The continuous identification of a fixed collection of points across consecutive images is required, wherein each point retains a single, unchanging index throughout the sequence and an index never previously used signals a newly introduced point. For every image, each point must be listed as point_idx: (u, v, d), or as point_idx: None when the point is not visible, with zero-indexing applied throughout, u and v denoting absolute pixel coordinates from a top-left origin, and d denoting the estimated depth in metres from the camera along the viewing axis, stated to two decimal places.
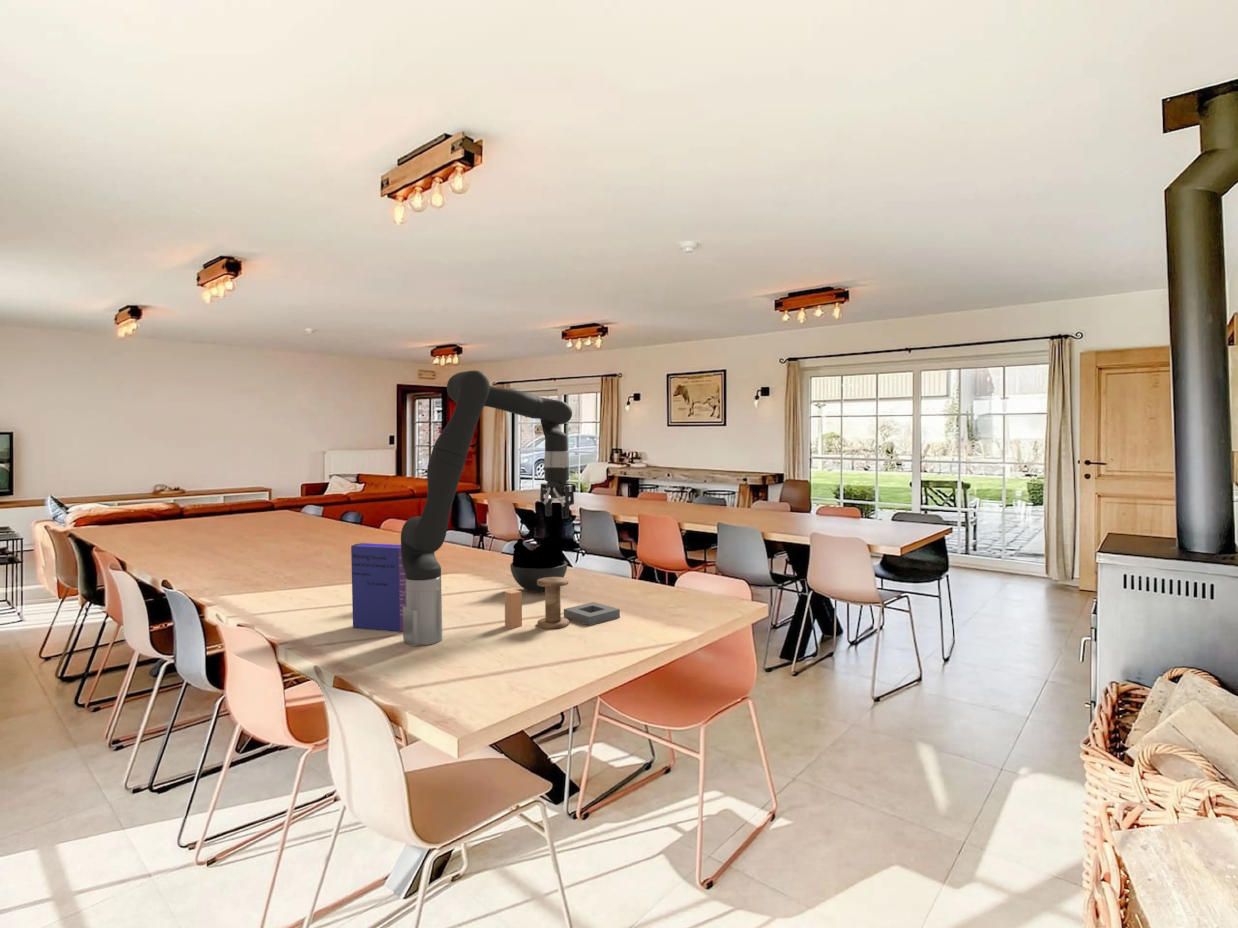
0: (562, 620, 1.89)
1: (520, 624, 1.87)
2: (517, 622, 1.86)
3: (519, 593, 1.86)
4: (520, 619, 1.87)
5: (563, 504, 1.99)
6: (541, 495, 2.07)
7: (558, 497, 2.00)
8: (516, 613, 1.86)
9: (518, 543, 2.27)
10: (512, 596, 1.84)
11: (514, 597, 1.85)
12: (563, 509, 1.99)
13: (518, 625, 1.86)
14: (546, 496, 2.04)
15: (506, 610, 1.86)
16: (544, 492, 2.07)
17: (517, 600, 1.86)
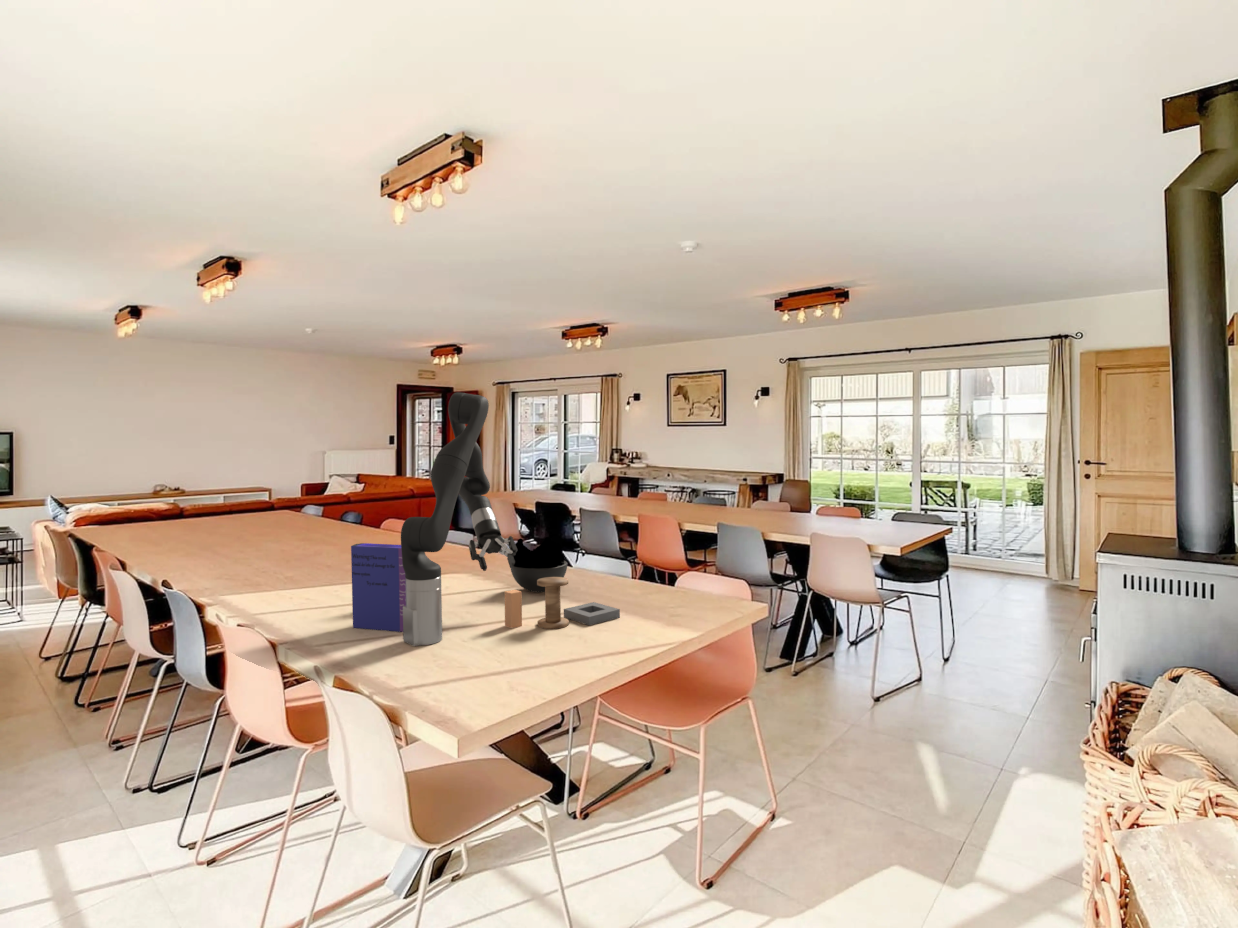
0: (562, 620, 1.89)
1: (520, 624, 1.87)
2: (517, 622, 1.86)
3: (519, 593, 1.86)
4: (520, 619, 1.87)
5: (511, 551, 2.01)
6: (474, 549, 1.96)
7: (504, 545, 2.00)
8: (516, 613, 1.86)
9: (518, 543, 2.27)
10: (512, 596, 1.84)
11: (514, 597, 1.85)
12: (511, 556, 2.00)
13: (518, 625, 1.86)
14: (485, 548, 1.97)
15: (506, 610, 1.86)
16: None
17: (517, 600, 1.86)
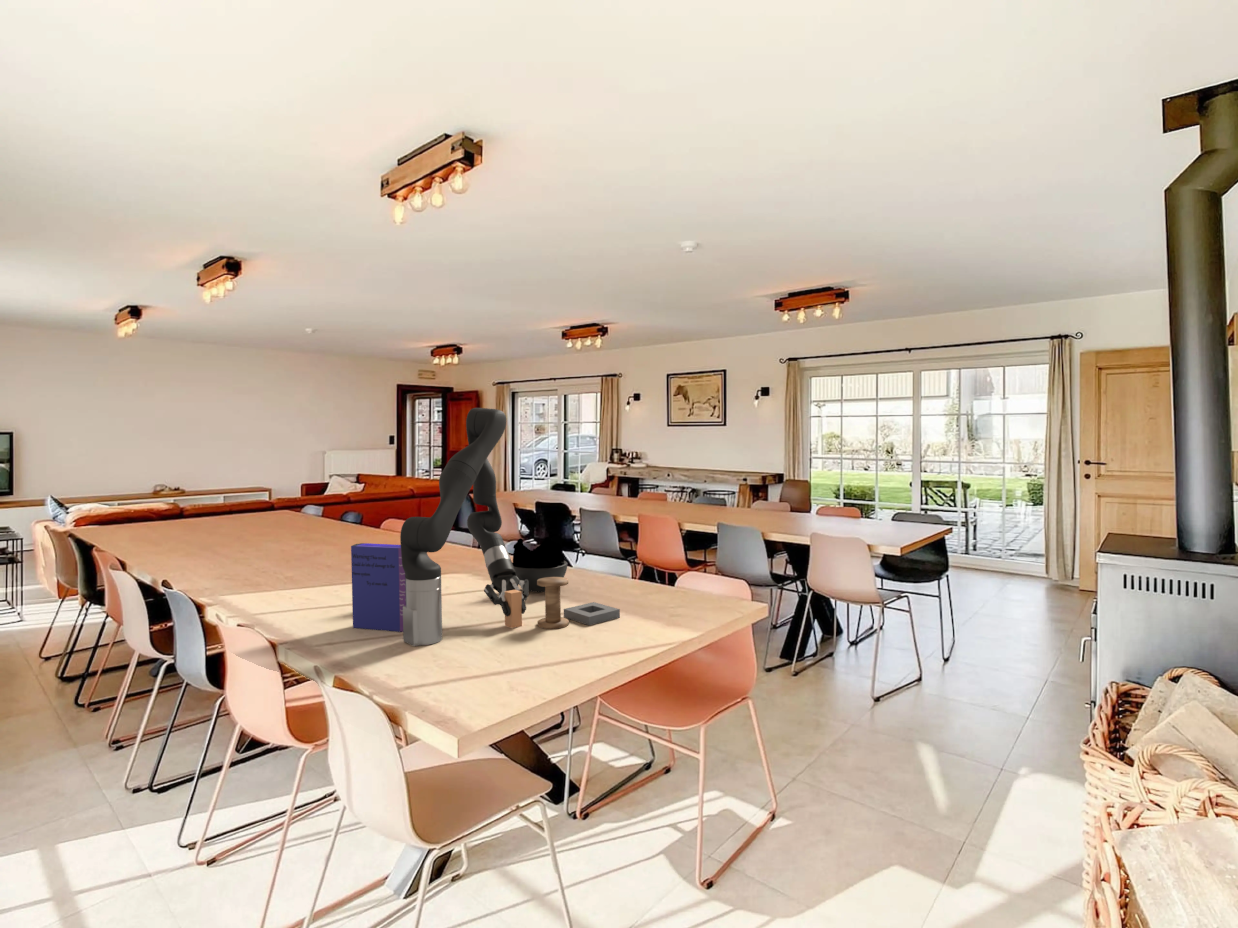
0: (562, 620, 1.89)
1: (520, 624, 1.87)
2: (517, 622, 1.86)
3: (519, 593, 1.86)
4: (520, 619, 1.87)
5: (522, 596, 1.89)
6: (494, 594, 1.85)
7: (517, 588, 1.89)
8: (516, 613, 1.86)
9: (518, 543, 2.27)
10: (512, 596, 1.84)
11: (514, 597, 1.85)
12: (522, 601, 1.88)
13: (518, 625, 1.86)
14: (504, 590, 1.87)
15: None
16: None
17: (517, 600, 1.86)
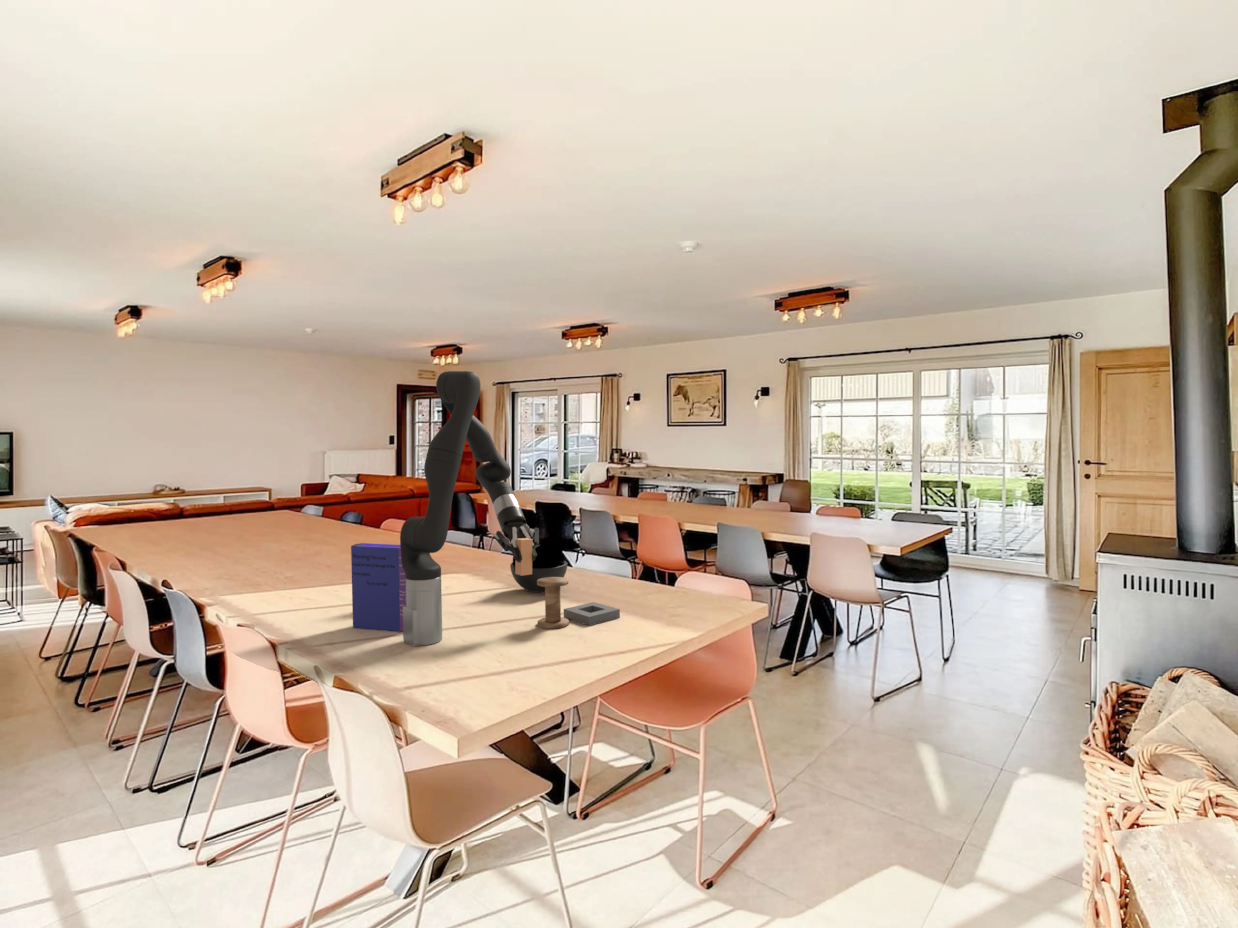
0: (562, 620, 1.89)
1: (530, 572, 1.84)
2: (527, 570, 1.83)
3: (529, 541, 1.84)
4: (530, 567, 1.84)
5: (532, 544, 1.86)
6: (505, 540, 1.83)
7: (527, 536, 1.87)
8: (526, 561, 1.83)
9: None
10: (521, 543, 1.82)
11: (524, 544, 1.82)
12: (532, 548, 1.85)
13: (528, 573, 1.84)
14: (515, 537, 1.84)
15: None
16: None
17: (528, 547, 1.83)
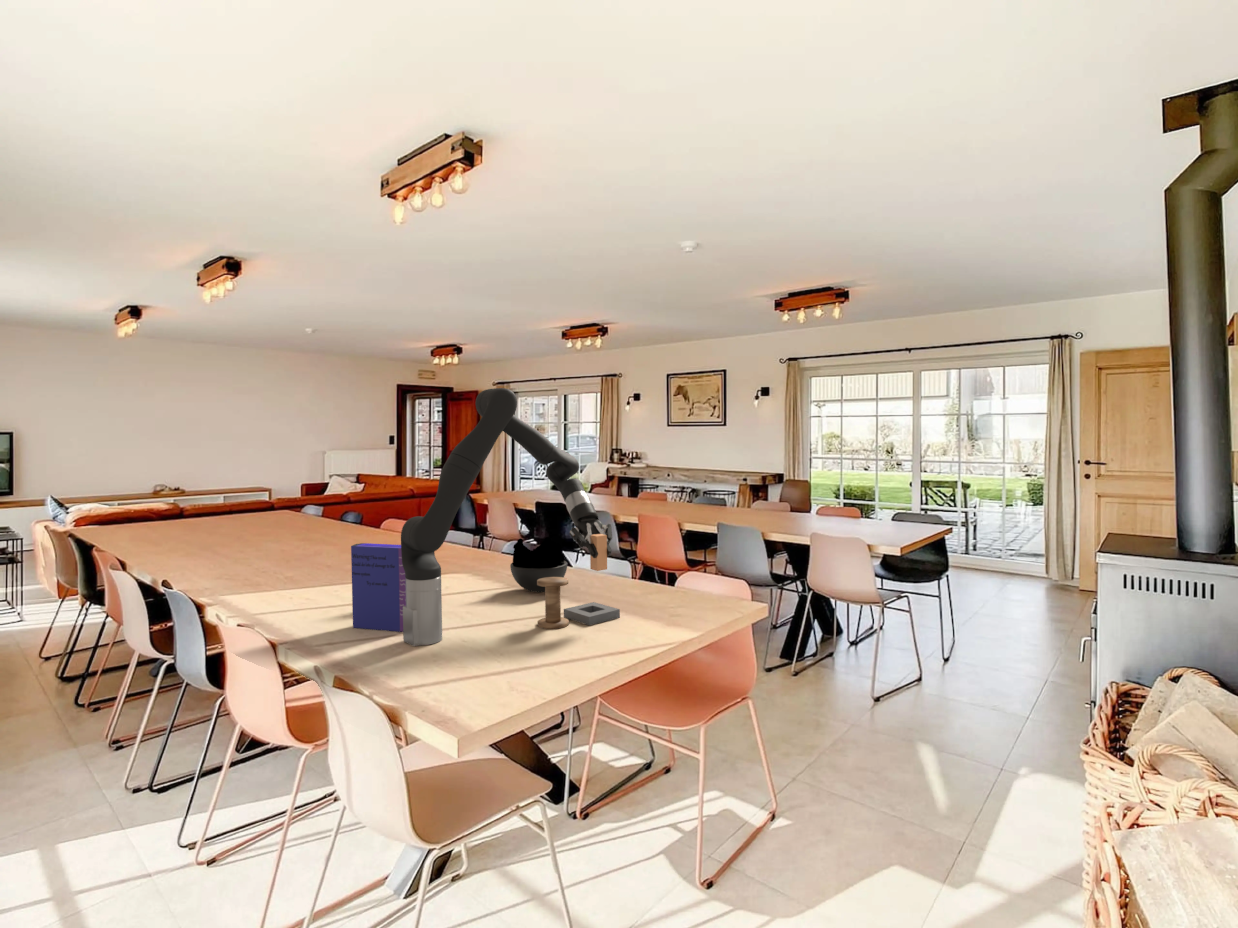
0: (562, 620, 1.89)
1: (605, 567, 1.87)
2: (603, 565, 1.86)
3: (604, 536, 1.86)
4: (605, 562, 1.87)
5: None
6: (581, 536, 1.86)
7: (601, 531, 1.90)
8: (601, 557, 1.86)
9: (518, 543, 2.27)
10: (597, 539, 1.85)
11: (599, 540, 1.85)
12: (607, 544, 1.88)
13: (603, 568, 1.87)
14: (589, 533, 1.87)
15: None
16: None
17: (603, 543, 1.86)
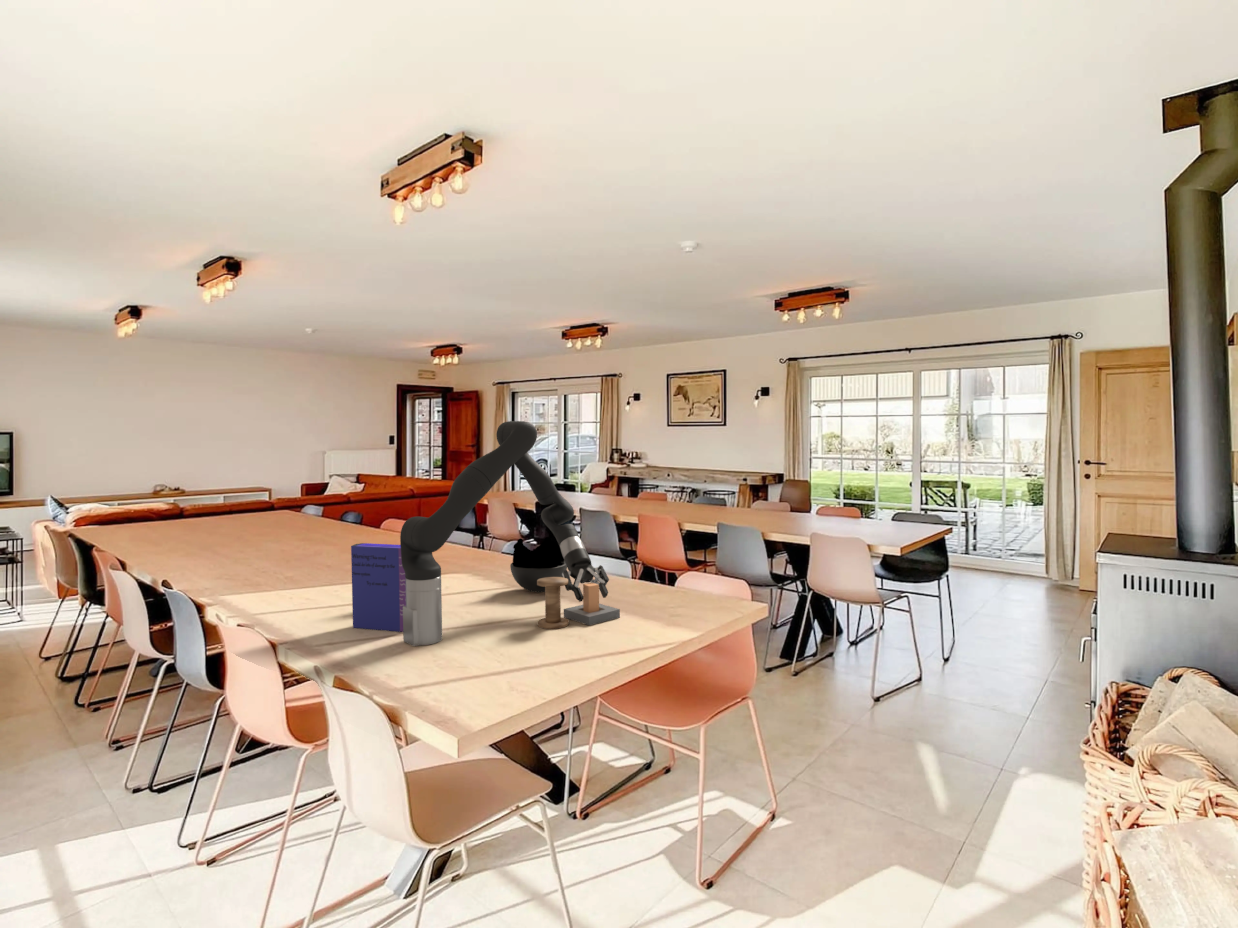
0: (562, 620, 1.89)
1: None
2: None
3: (596, 586, 1.94)
4: None
5: (603, 581, 1.98)
6: (568, 580, 1.94)
7: (596, 575, 1.98)
8: (593, 605, 1.94)
9: (518, 543, 2.27)
10: (589, 589, 1.93)
11: (591, 590, 1.93)
12: (604, 586, 1.98)
13: None
14: (579, 578, 1.95)
15: (584, 602, 1.95)
16: None
17: (595, 593, 1.94)
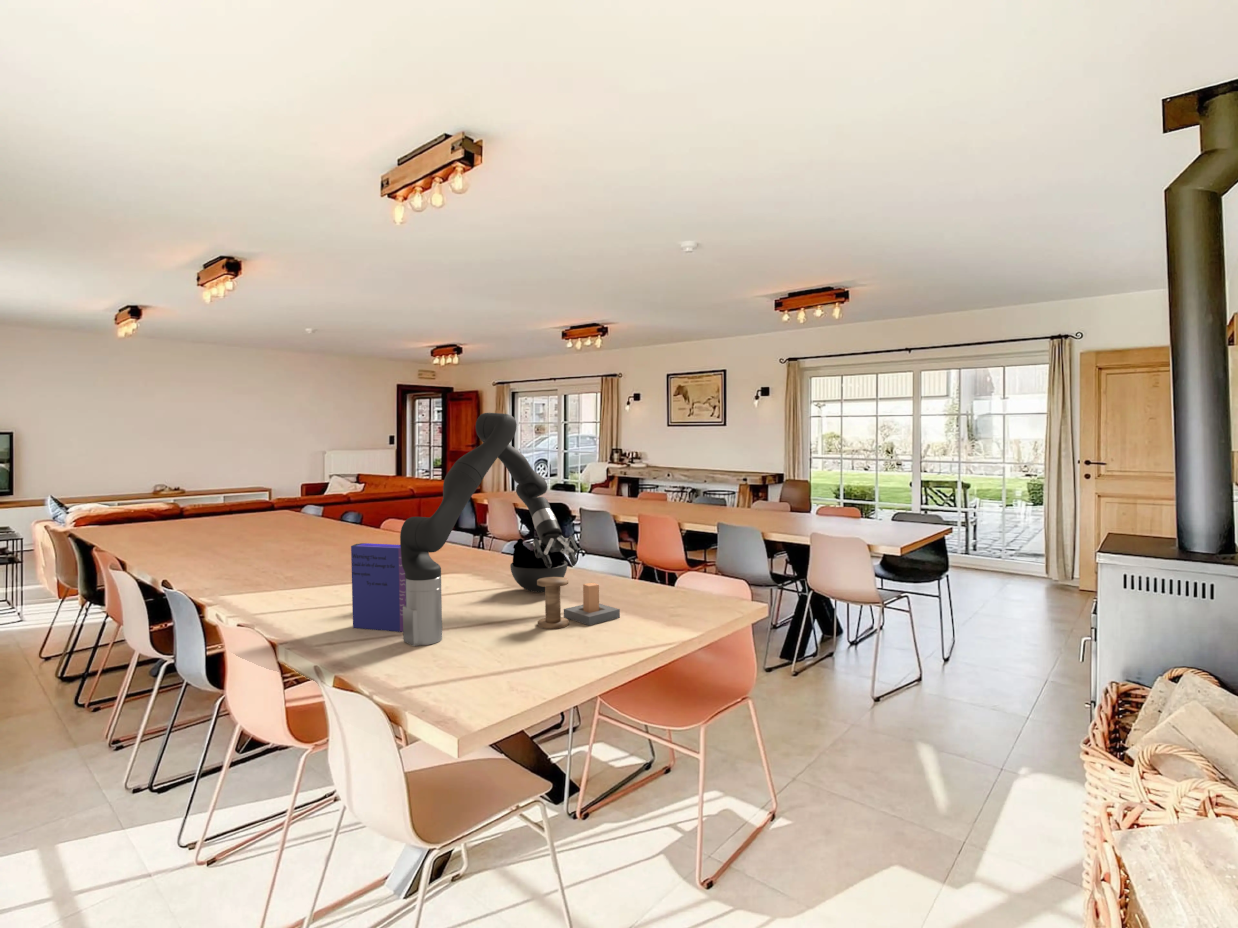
0: (562, 620, 1.89)
1: None
2: None
3: (596, 586, 1.94)
4: None
5: (572, 550, 2.07)
6: (538, 548, 2.03)
7: (566, 544, 2.07)
8: (593, 605, 1.94)
9: (518, 543, 2.27)
10: (589, 589, 1.93)
11: (591, 589, 1.93)
12: (573, 555, 2.07)
13: None
14: (549, 546, 2.04)
15: (584, 602, 1.95)
16: None
17: (595, 593, 1.94)
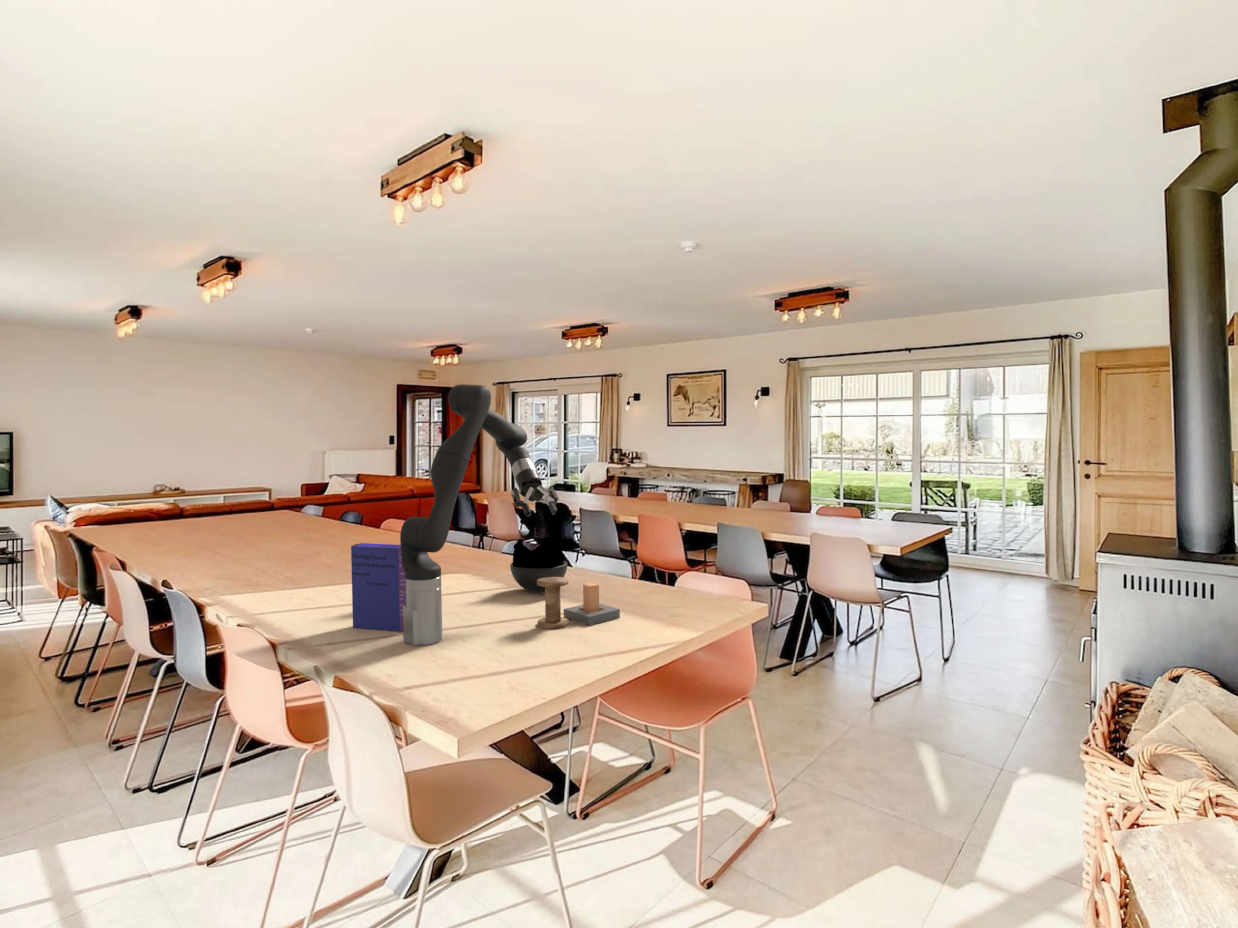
0: (562, 620, 1.89)
1: None
2: None
3: (596, 586, 1.94)
4: None
5: (553, 499, 2.05)
6: (517, 496, 2.00)
7: (546, 494, 2.04)
8: (593, 605, 1.94)
9: (518, 543, 2.27)
10: (589, 589, 1.93)
11: (591, 590, 1.93)
12: (553, 504, 2.04)
13: None
14: (528, 495, 2.01)
15: (584, 602, 1.95)
16: None
17: (595, 593, 1.94)
